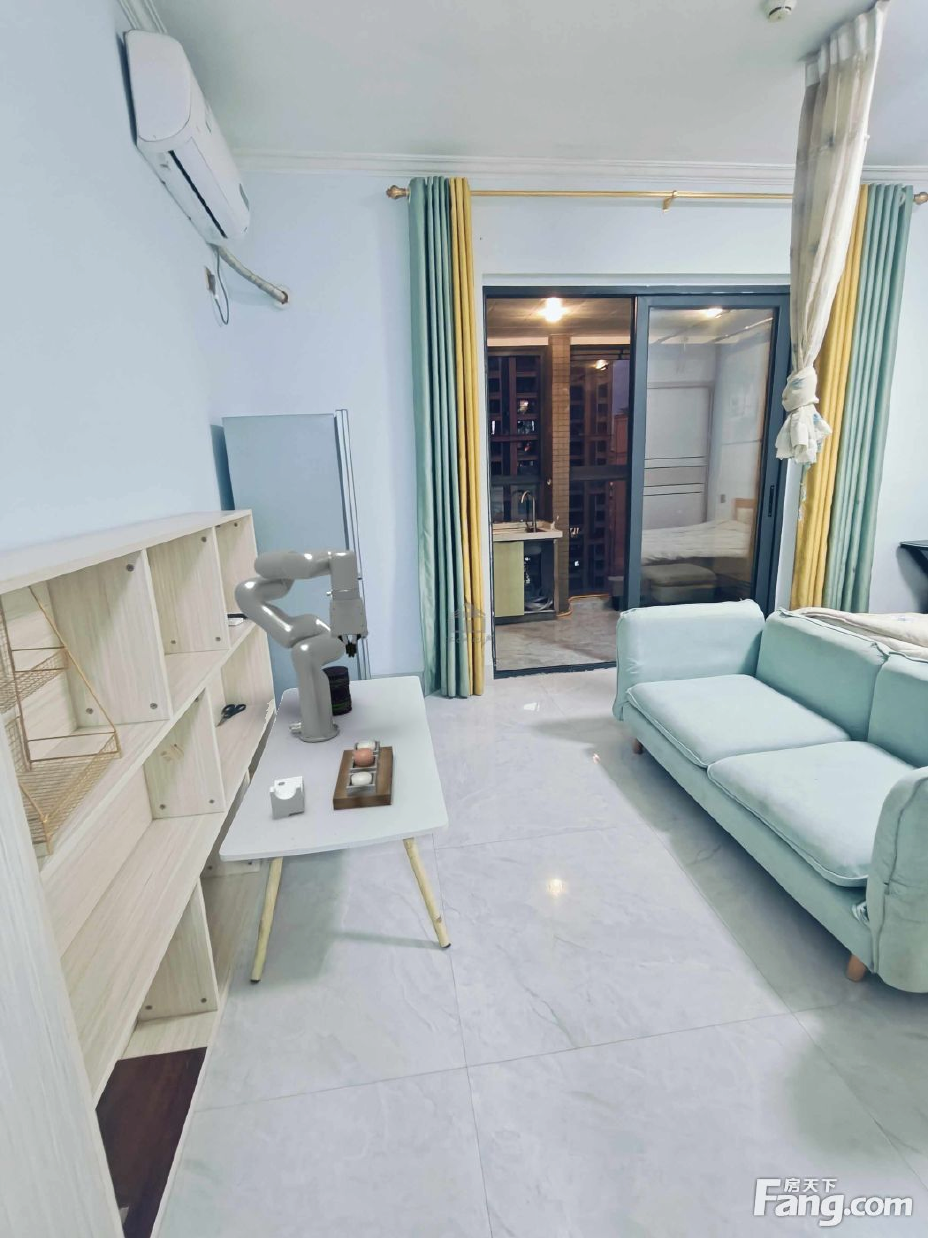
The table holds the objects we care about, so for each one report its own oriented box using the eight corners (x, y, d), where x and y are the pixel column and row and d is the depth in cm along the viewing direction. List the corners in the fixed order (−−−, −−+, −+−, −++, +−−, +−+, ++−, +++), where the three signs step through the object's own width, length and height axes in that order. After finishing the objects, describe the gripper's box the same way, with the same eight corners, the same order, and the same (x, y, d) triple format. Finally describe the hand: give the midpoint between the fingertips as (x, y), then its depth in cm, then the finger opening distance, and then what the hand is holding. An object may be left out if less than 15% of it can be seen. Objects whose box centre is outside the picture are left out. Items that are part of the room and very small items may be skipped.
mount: (333, 810, 142) (331, 790, 141) (344, 759, 167) (342, 742, 166) (390, 804, 144) (389, 785, 142) (393, 755, 169) (391, 738, 167)
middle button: (354, 767, 152) (353, 757, 151) (355, 758, 156) (354, 748, 156) (373, 766, 152) (372, 755, 151) (374, 757, 157) (373, 747, 156)
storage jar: (322, 708, 206) (317, 668, 202) (349, 703, 209) (345, 664, 205) (326, 718, 196) (321, 677, 193) (354, 713, 200) (350, 672, 196)
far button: (357, 759, 161) (356, 749, 160) (358, 750, 166) (358, 741, 165) (375, 757, 161) (374, 747, 160) (376, 749, 166) (375, 739, 165)
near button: (351, 793, 143) (350, 782, 143) (353, 783, 148) (352, 772, 147) (371, 791, 144) (370, 781, 143) (372, 781, 149) (372, 771, 148)
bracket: (303, 814, 142) (300, 787, 140) (273, 820, 140) (269, 792, 138) (304, 787, 154) (300, 762, 152) (276, 792, 152) (272, 766, 150)
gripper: (317, 598, 158) (323, 662, 163) (371, 595, 160) (377, 658, 164) (321, 593, 166) (327, 654, 170) (373, 590, 167) (378, 650, 172)
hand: (351, 656), depth 167 cm, fingers closed
